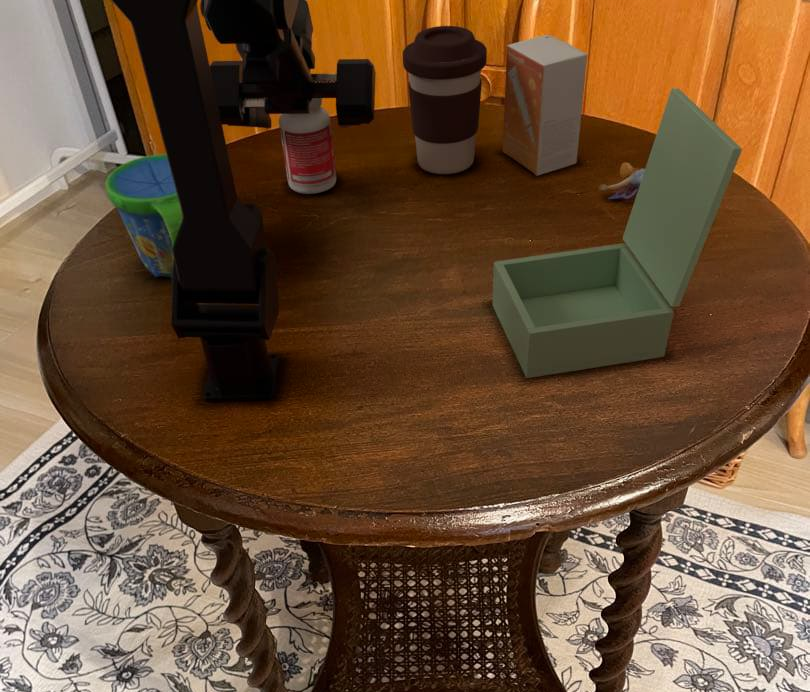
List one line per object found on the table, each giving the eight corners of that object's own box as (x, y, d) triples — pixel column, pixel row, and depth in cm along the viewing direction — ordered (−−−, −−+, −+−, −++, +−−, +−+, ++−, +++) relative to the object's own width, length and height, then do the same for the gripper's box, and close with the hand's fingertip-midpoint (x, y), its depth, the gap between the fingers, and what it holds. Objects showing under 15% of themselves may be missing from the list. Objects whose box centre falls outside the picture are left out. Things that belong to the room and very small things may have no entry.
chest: (526, 378, 81) (529, 333, 77) (492, 305, 89) (493, 261, 85) (664, 357, 82) (674, 311, 78) (618, 286, 90) (625, 242, 87)
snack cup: (236, 289, 93) (217, 199, 86) (139, 309, 92) (110, 219, 84) (214, 222, 103) (195, 136, 96) (126, 239, 102) (99, 153, 94)
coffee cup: (404, 149, 114) (399, 23, 103) (479, 143, 115) (481, 17, 103) (410, 183, 108) (404, 53, 97) (489, 177, 108) (492, 47, 97)
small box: (501, 153, 112) (505, 44, 103) (541, 141, 114) (549, 32, 104) (536, 177, 107) (543, 64, 98) (578, 164, 109) (589, 52, 100)
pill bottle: (346, 186, 108) (336, 93, 100) (303, 200, 106) (290, 107, 98) (321, 168, 112) (310, 77, 104) (279, 182, 110) (265, 90, 102)
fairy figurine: (662, 214, 93) (588, 162, 99) (651, 252, 97) (581, 200, 103) (736, 182, 97) (661, 135, 103) (723, 220, 101) (651, 172, 107)
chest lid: (733, 148, 68) (742, 148, 68) (671, 87, 76) (679, 88, 76) (671, 307, 78) (679, 307, 78) (622, 238, 86) (629, 238, 86)
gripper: (366, -23, 88) (385, 54, 103) (188, -19, 89) (233, 56, 105) (362, 89, 88) (382, 149, 104) (186, 91, 90) (231, 149, 106)
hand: (307, 123), depth 104 cm, fingers open, 9 cm apart
